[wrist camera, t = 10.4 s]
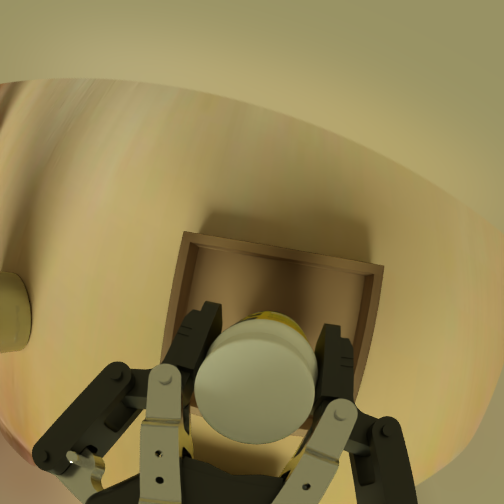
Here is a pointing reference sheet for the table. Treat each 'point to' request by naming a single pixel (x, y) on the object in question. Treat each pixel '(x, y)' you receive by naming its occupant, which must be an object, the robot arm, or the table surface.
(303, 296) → the walnut tray
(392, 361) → the table surface
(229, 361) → the supplement bottle
